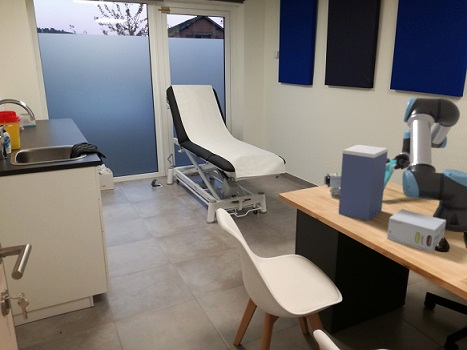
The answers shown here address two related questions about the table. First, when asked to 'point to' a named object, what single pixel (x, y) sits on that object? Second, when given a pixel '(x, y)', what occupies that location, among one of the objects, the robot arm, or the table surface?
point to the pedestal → (362, 181)
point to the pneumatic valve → (333, 183)
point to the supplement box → (416, 230)
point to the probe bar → (389, 171)
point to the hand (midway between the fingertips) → (388, 168)
